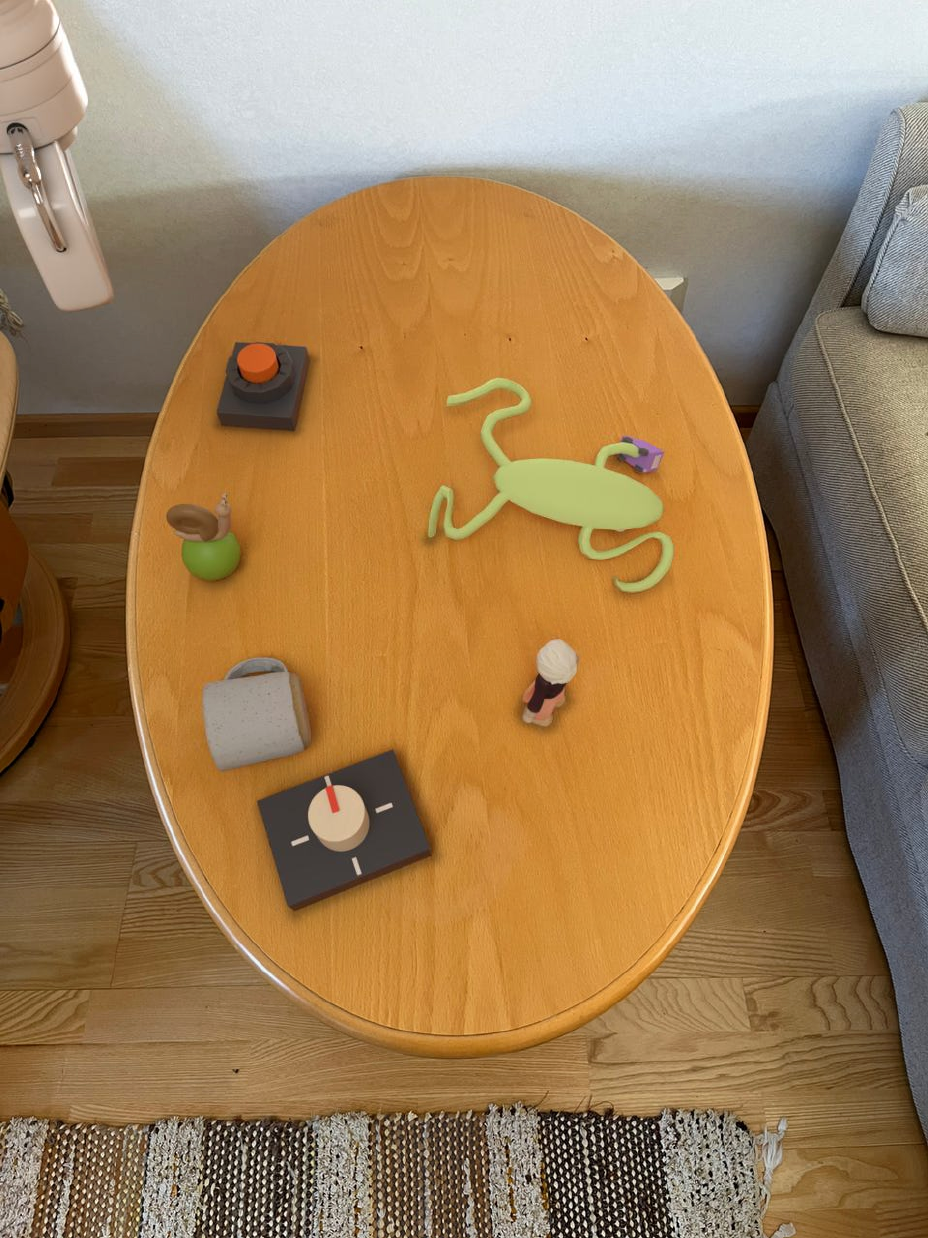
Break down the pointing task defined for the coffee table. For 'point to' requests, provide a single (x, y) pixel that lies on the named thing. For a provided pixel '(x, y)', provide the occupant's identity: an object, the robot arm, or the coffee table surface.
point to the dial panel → (328, 872)
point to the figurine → (567, 489)
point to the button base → (265, 391)
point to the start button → (257, 363)
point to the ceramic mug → (255, 715)
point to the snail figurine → (206, 539)
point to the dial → (338, 818)
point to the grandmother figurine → (549, 682)
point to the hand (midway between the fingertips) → (87, 270)
